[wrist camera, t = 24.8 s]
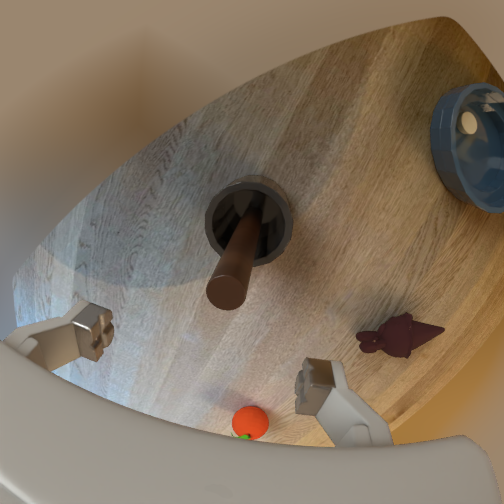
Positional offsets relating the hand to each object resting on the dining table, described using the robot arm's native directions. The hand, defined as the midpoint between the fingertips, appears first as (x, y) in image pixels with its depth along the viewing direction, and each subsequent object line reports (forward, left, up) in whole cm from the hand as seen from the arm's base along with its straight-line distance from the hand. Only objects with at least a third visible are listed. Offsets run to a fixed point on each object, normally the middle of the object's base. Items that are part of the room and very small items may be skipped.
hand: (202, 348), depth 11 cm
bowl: (+12, +32, -27) cm, 43 cm away
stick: (+1, -1, -26) cm, 26 cm away
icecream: (+28, +6, -27) cm, 39 cm away
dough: (+8, +32, -26) cm, 42 cm away
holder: (0, 0, -27) cm, 27 cm away
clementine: (+29, -26, -27) cm, 47 cm away
